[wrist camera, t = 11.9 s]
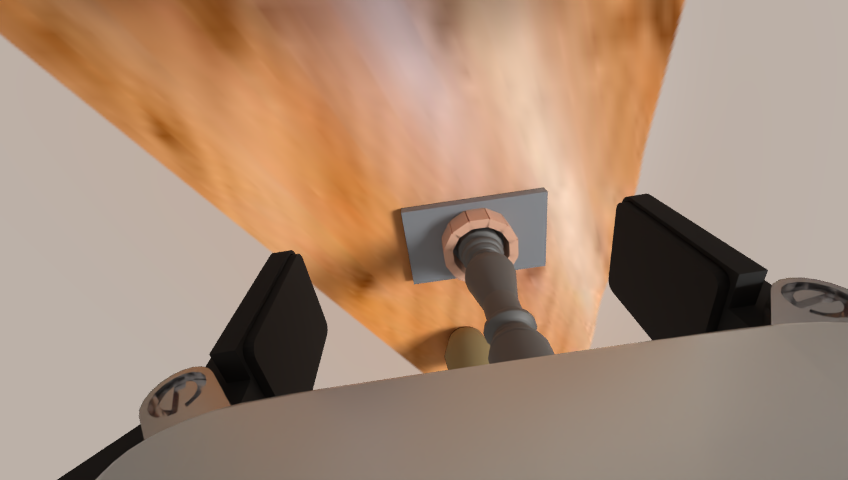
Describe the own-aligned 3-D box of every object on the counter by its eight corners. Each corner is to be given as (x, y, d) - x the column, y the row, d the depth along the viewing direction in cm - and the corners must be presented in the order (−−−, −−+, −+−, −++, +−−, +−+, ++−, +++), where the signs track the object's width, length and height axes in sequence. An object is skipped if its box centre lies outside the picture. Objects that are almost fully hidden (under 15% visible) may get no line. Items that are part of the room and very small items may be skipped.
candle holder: (490, 260, 54) (550, 409, 32) (450, 254, 53) (483, 402, 32) (503, 223, 52) (578, 359, 30) (461, 216, 51) (506, 350, 29)
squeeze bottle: (441, 322, 62) (455, 420, 46) (489, 319, 62) (519, 414, 46) (443, 357, 65) (456, 458, 50) (488, 354, 66) (515, 453, 50)
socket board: (543, 187, 51) (557, 201, 46) (542, 260, 57) (553, 278, 52) (401, 208, 51) (401, 224, 47) (413, 278, 57) (414, 298, 53)
